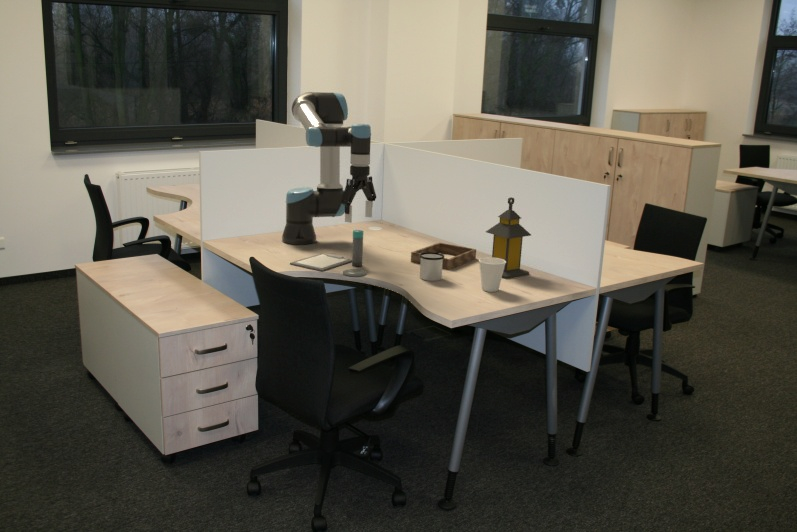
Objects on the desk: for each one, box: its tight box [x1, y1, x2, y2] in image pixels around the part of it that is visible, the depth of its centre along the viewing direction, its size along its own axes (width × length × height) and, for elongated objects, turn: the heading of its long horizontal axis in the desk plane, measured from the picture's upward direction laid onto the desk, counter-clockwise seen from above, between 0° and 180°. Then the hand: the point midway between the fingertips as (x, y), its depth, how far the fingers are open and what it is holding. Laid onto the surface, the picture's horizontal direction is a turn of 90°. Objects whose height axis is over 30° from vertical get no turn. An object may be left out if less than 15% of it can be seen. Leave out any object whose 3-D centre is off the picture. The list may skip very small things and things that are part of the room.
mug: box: [419, 252, 445, 282], centre depth 283 cm, size 12×10×9 cm
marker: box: [351, 229, 364, 268], centre depth 294 cm, size 4×4×14 cm
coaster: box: [342, 268, 367, 278], centre depth 285 cm, size 9×9×1 cm
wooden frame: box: [410, 242, 477, 270], centre depth 310 cm, size 23×18×4 cm
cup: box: [478, 256, 506, 293], centre depth 270 cm, size 10×10×11 cm
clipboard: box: [289, 253, 352, 272], centre depth 298 cm, size 20×16×1 cm
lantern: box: [485, 197, 532, 280], centre depth 292 cm, size 14×14×30 cm
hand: (358, 219), depth 291 cm, fingers open, 13 cm apart
